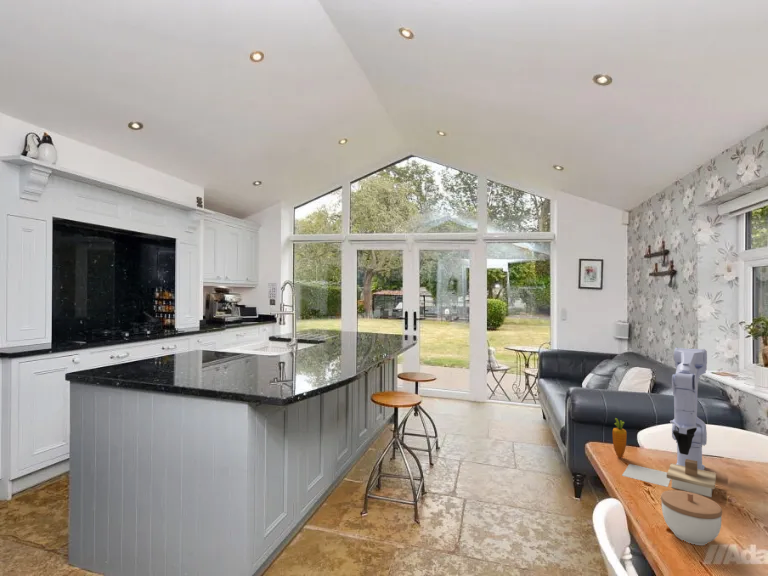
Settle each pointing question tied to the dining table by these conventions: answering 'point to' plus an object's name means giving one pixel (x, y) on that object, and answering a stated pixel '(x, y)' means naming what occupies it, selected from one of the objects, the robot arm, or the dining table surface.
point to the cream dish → (692, 488)
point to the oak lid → (692, 474)
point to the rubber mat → (647, 475)
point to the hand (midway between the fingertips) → (685, 451)
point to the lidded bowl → (691, 516)
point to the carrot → (619, 438)
